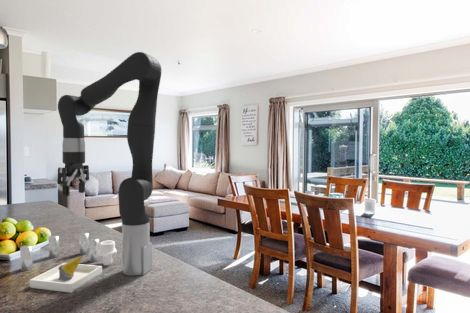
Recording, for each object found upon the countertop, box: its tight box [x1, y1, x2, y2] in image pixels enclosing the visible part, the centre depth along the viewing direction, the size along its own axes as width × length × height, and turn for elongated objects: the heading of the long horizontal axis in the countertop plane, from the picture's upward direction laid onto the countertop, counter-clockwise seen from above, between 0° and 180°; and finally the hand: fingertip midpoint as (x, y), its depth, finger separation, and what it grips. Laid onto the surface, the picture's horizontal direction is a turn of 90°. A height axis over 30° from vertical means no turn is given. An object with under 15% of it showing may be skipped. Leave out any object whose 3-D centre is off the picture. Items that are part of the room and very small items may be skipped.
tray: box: [29, 262, 103, 294], centre depth 108 cm, size 15×15×2 cm
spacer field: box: [19, 232, 101, 272], centre depth 125 cm, size 22×23×8 cm
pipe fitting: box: [98, 239, 118, 266], centre depth 123 cm, size 6×7×8 cm
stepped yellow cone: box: [58, 255, 83, 281], centre depth 109 cm, size 5×5×10 cm
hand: (74, 194), depth 122 cm, fingers open, 8 cm apart
